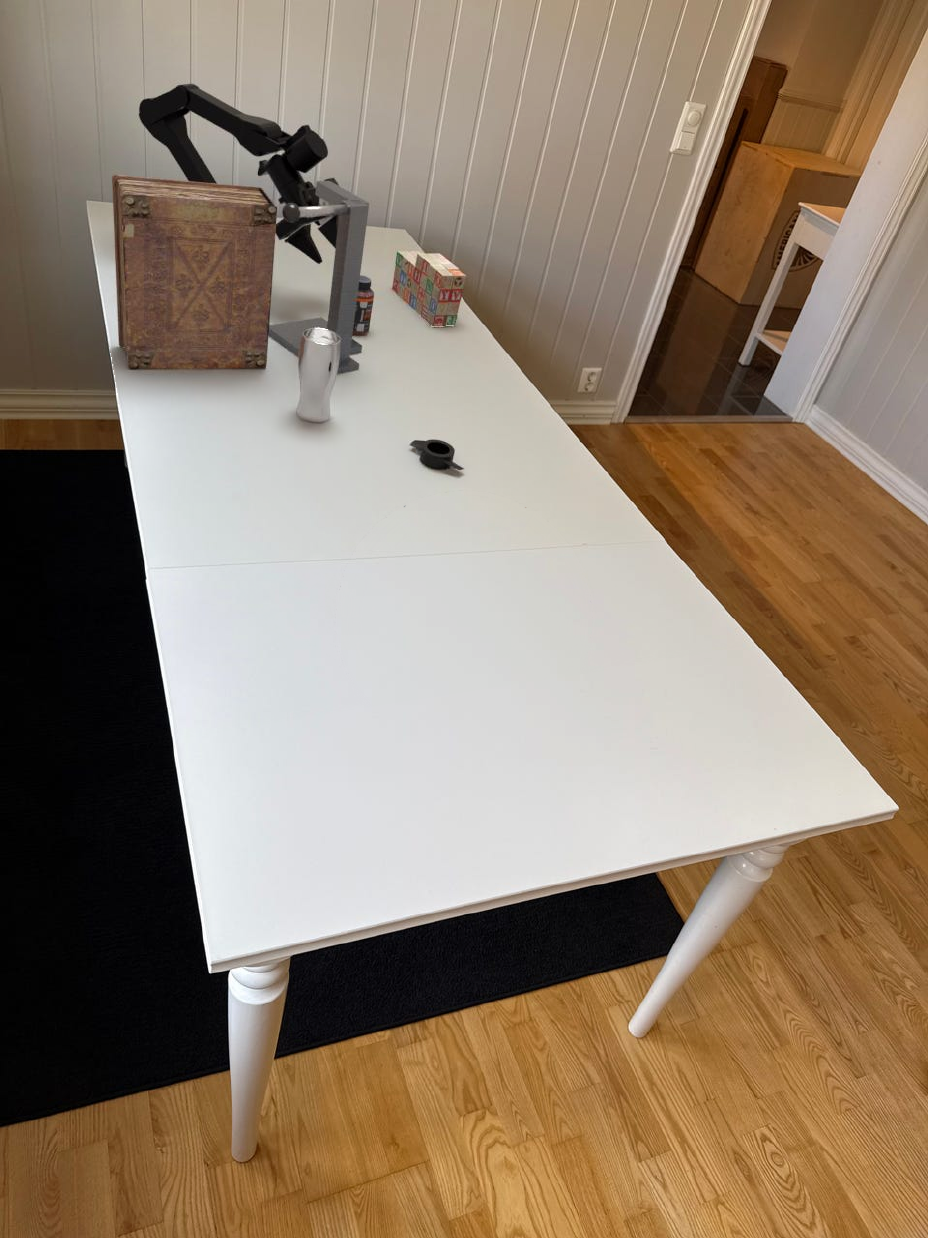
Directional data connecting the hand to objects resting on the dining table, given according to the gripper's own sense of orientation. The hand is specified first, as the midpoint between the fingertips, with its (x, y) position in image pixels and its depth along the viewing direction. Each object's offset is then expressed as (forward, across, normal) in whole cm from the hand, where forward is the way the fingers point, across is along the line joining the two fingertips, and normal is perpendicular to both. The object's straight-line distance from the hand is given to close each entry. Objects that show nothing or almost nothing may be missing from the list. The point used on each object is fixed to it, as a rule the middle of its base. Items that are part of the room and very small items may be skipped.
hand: (332, 257), depth 183 cm
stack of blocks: (+18, +25, +1) cm, 30 cm away
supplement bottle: (+15, 0, +4) cm, 15 cm away
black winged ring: (+41, -37, -22) cm, 59 cm away
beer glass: (+24, -38, -5) cm, 46 cm away
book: (+4, -36, +14) cm, 39 cm away
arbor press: (+13, -18, +5) cm, 23 cm away
